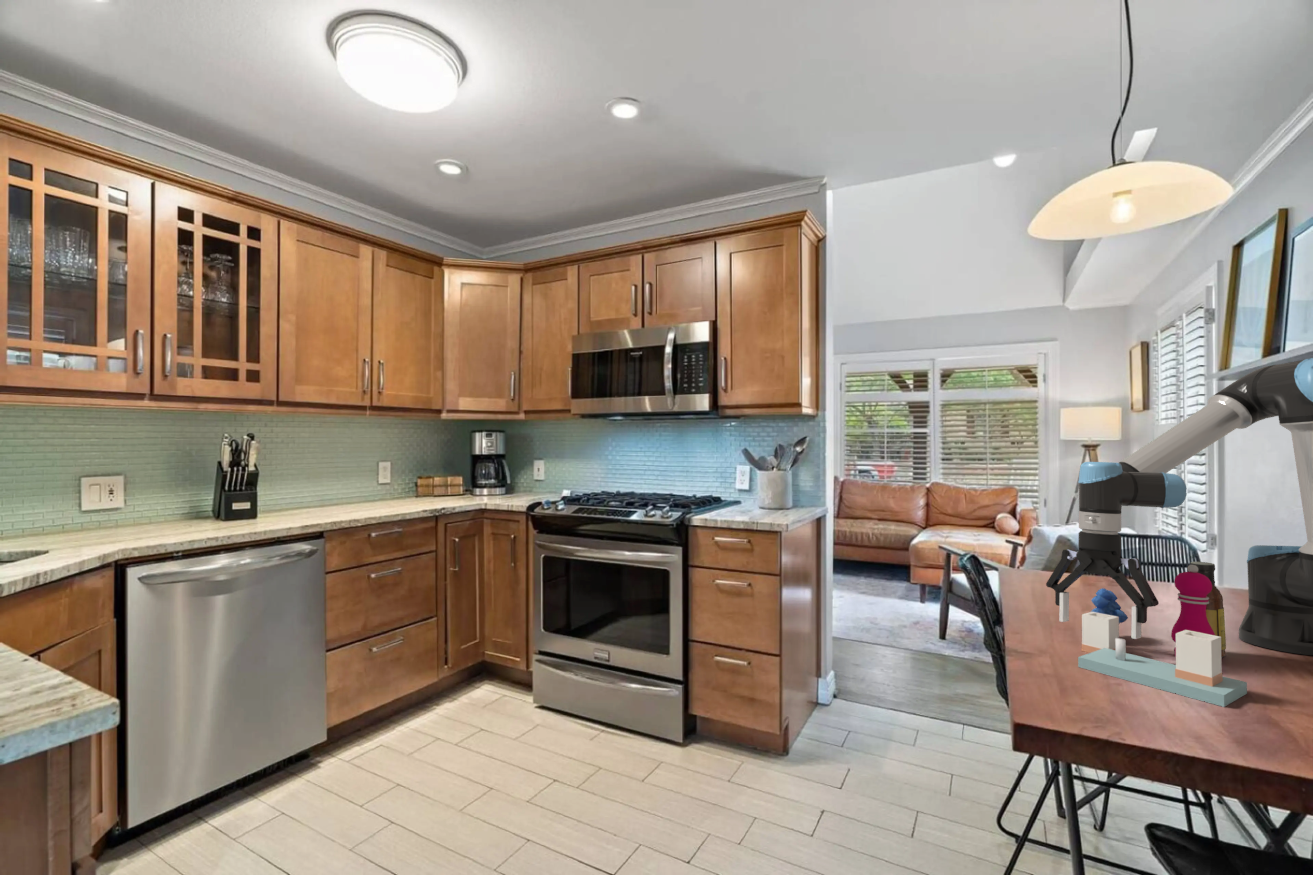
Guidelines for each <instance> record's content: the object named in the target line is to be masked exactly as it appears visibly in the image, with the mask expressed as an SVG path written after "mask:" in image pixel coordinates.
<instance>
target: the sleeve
mask: <svg viewBox="0 0 1313 875" xmlns="http://www.w3.org/2000/svg"><path fill="white" fill-rule="evenodd" d="M1115 638H1120V624H1119V617H1117V616H1112V615H1107V614H1102V613H1097V612H1091V611H1089V612H1084V613H1082V614H1081V647H1080V648H1081V652H1084V653H1087V654H1088V653H1091V652H1094V651H1097V650H1100V649H1103V648H1107V649H1112V650H1116V644H1115Z"/></svg>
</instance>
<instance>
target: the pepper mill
mask: <svg viewBox="0 0 1313 875" xmlns="http://www.w3.org/2000/svg"><path fill="white" fill-rule="evenodd" d="M1197 572H1198V567H1197V566H1195V565H1190V564H1188V566H1187V571H1183V572H1180V573H1178V574H1177V575H1176V576H1175V578H1174V582H1173V583H1174V587H1175V588H1176V589H1177V590H1178V593H1177V600H1178V601H1179V602H1180V613H1179V616H1178V618H1177V620H1176V622H1175V623H1174V624H1173V627H1172V630H1171V633H1170V638H1171V640H1172V641H1173V642H1174V643H1175V644H1176V633H1178V632H1181V631H1184V630H1190V631H1195V632H1200V633H1205V634H1210V635H1215V633H1214V631H1213V629H1212V628H1211V626H1210V624H1209V622H1208V620H1207V616H1206V605H1207V604H1209V602H1208V601H1209V600H1208V599H1209V597H1207V594H1209V593H1210V592H1211V590H1212V583H1211V581H1210V579H1209V578H1208V577H1206V576H1205V575H1203V574H1200V573H1197ZM1173 650H1174V656H1175V658H1176V646H1175V647H1174V649H1173Z"/></svg>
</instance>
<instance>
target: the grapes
mask: <svg viewBox="0 0 1313 875" xmlns="http://www.w3.org/2000/svg"><path fill="white" fill-rule="evenodd" d="M1117 600H1118V597H1117V595H1116V594H1115V592H1113V591H1112V590H1108V589H1106V588H1104V587H1103V588H1100V589H1098V590H1097V591H1096V592H1095V596H1094V597H1092V598H1091V599H1090V601H1091V602H1092V604H1093V605H1094V606H1095V608H1093V609H1091V611H1090V612H1097V613H1102V614H1107V615H1112V616H1117V617H1119V625H1120V624H1122V623H1125V622H1126V621H1128V619H1129V617H1128V615H1127V614H1126V613H1125V611H1123V609H1122V606H1121V605H1120V604H1119V603H1118V602H1117Z"/></svg>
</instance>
